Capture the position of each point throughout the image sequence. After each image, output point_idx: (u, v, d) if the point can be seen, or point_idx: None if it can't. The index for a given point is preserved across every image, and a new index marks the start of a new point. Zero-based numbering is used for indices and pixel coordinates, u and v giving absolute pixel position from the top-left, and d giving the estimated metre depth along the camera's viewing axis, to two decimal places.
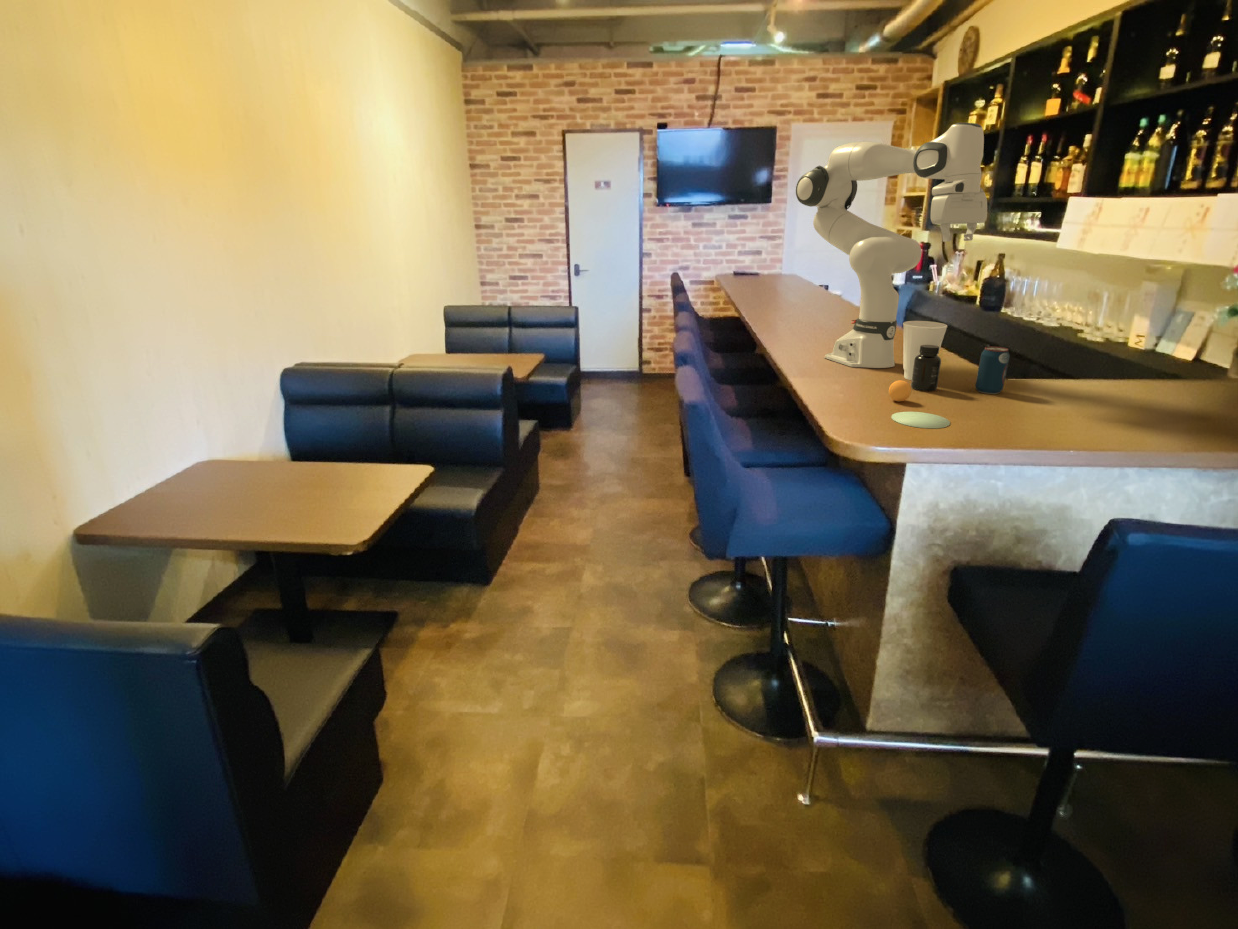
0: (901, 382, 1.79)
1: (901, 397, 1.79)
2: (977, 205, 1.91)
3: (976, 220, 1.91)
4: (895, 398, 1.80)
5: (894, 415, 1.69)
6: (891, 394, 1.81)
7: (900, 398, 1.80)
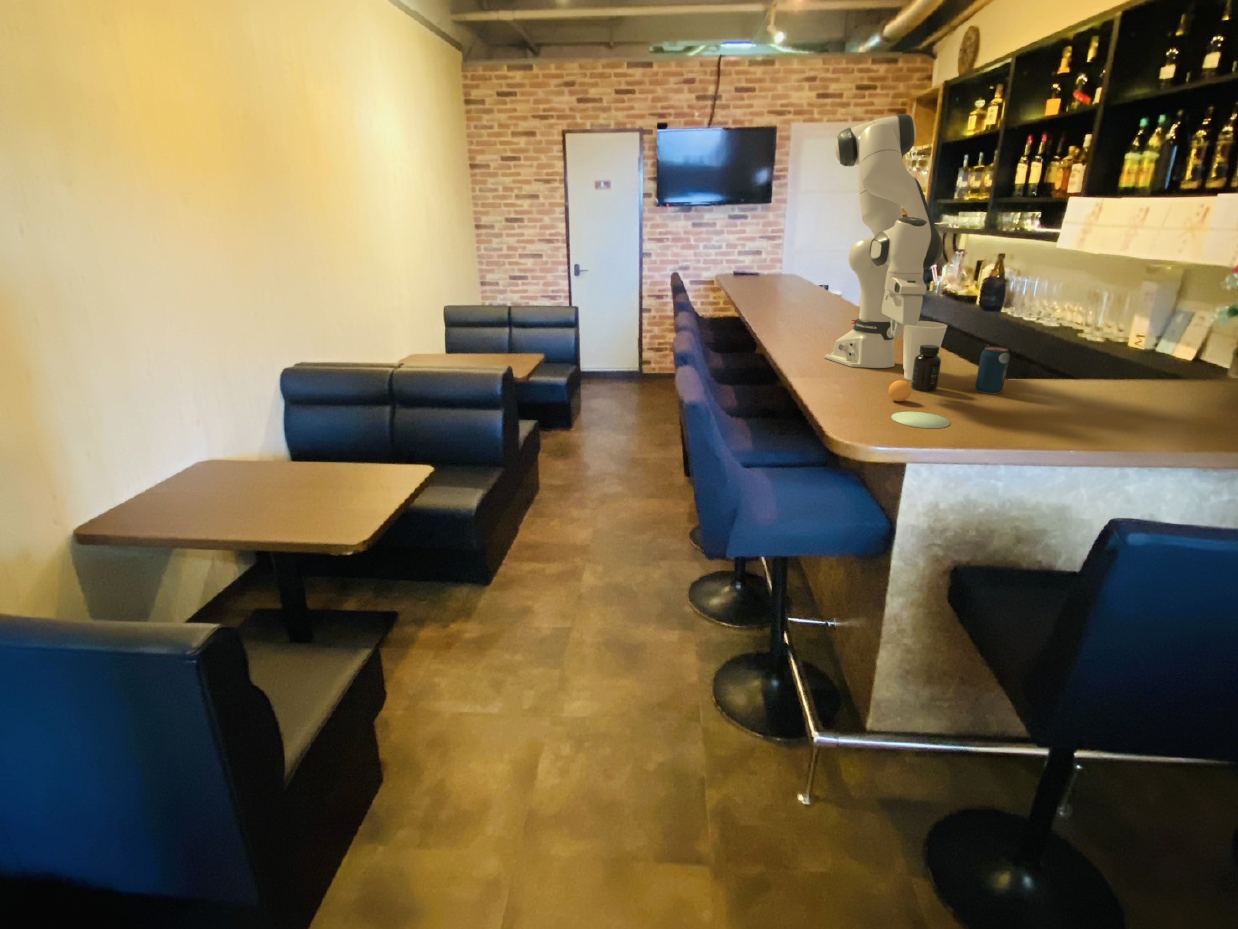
0: (901, 382, 1.79)
1: (901, 397, 1.79)
2: None
3: None
4: (895, 398, 1.80)
5: (894, 415, 1.69)
6: (891, 394, 1.81)
7: (900, 398, 1.80)
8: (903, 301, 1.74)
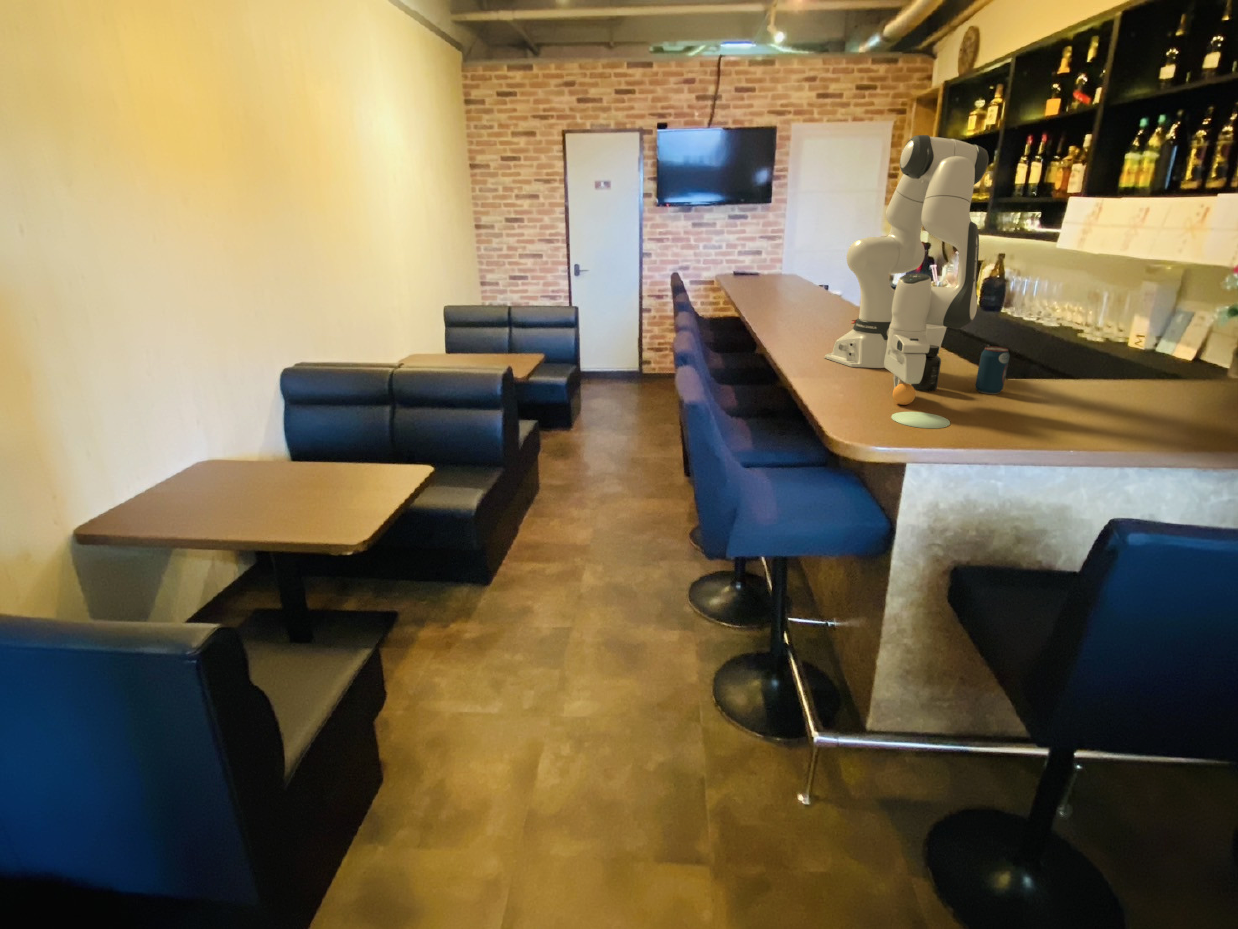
0: (906, 394, 1.76)
1: (901, 404, 1.79)
2: None
3: None
4: None
5: (894, 415, 1.69)
6: (893, 398, 1.79)
7: None
8: (906, 360, 1.70)
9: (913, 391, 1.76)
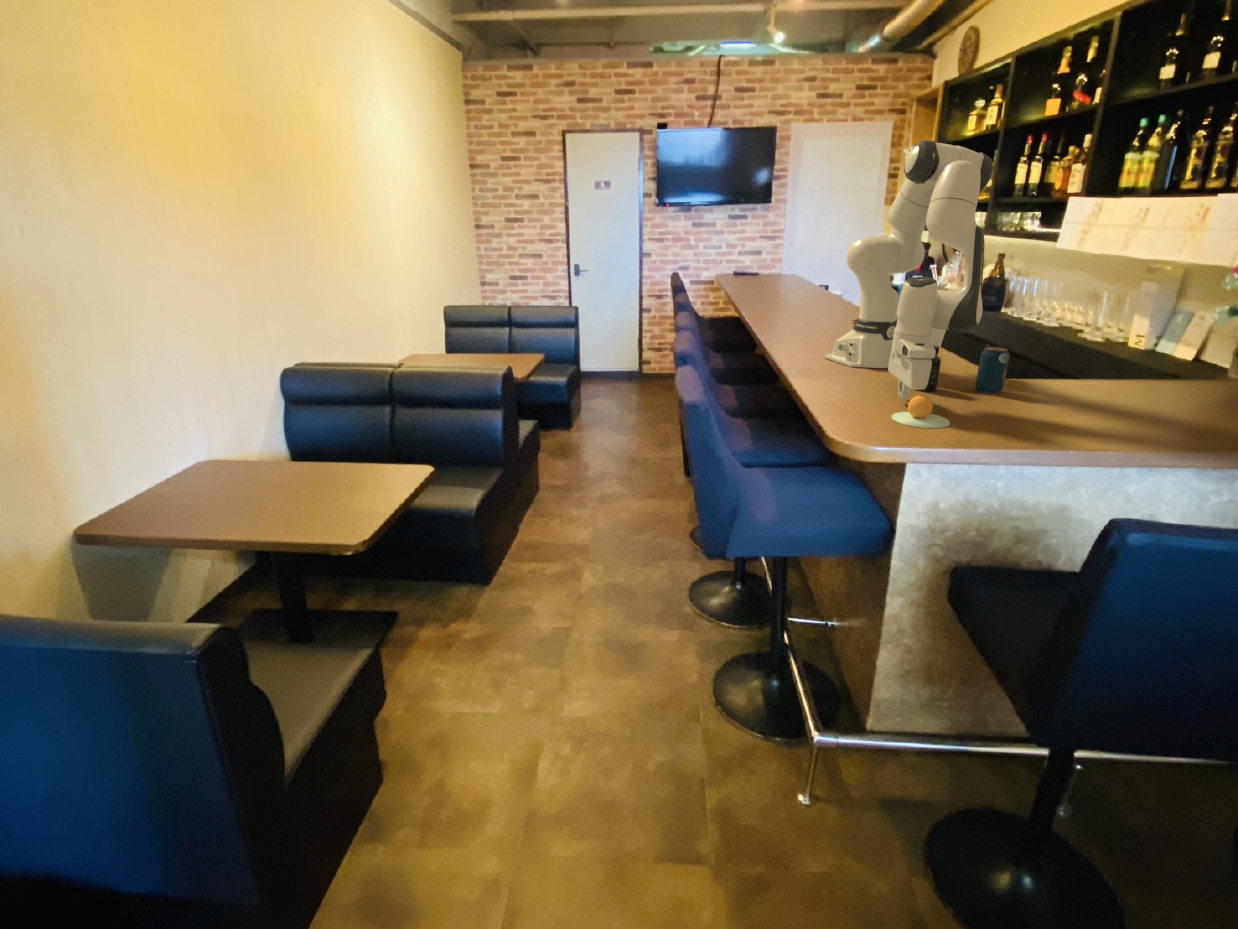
0: None
1: (923, 403, 1.65)
2: None
3: None
4: (918, 407, 1.65)
5: (894, 415, 1.69)
6: (912, 406, 1.66)
7: (923, 405, 1.65)
8: (911, 365, 1.67)
9: None
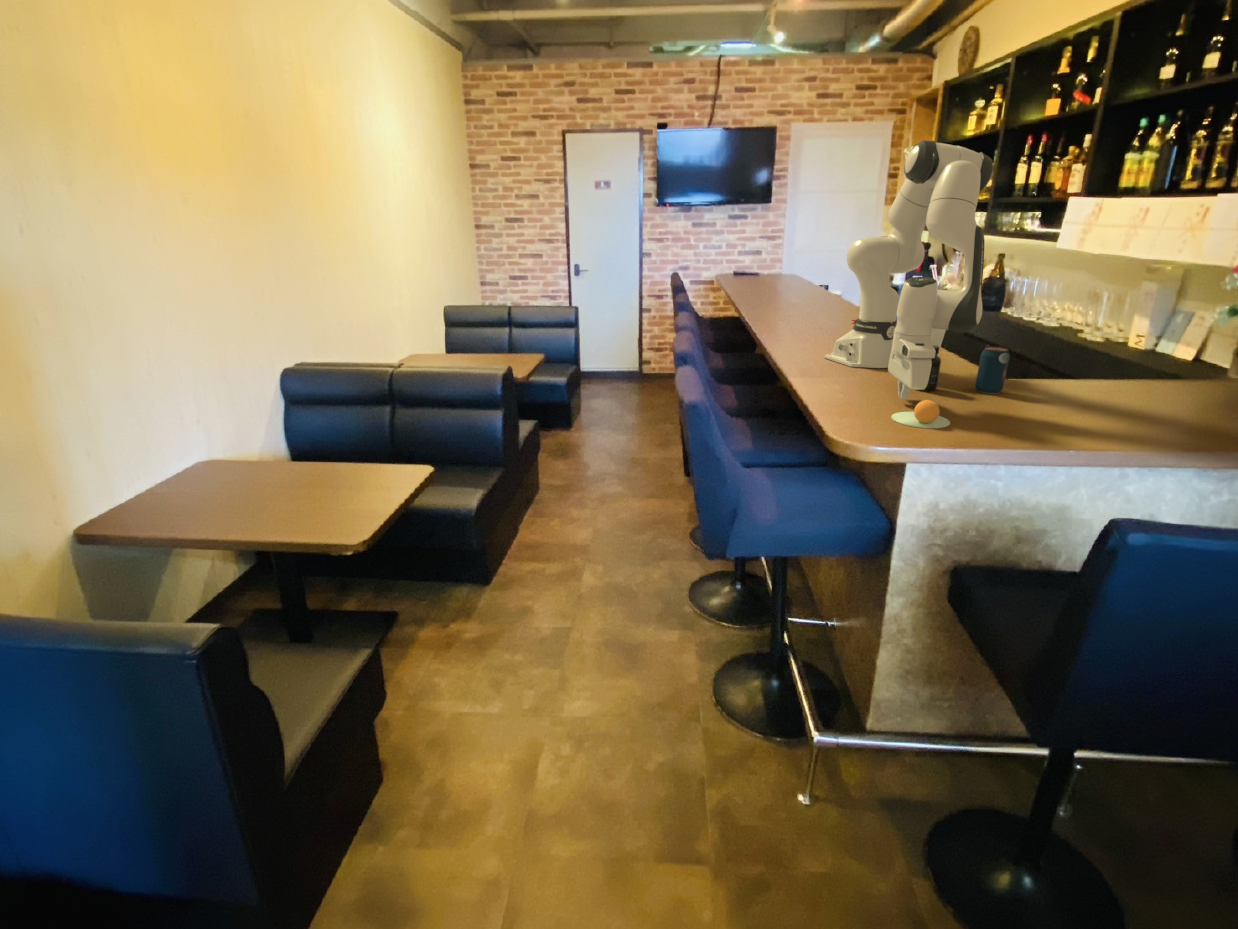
0: (929, 407, 1.61)
1: (926, 422, 1.63)
2: None
3: None
4: (919, 421, 1.64)
5: (894, 415, 1.69)
6: (916, 417, 1.63)
7: None
8: (911, 365, 1.67)
9: (936, 405, 1.61)
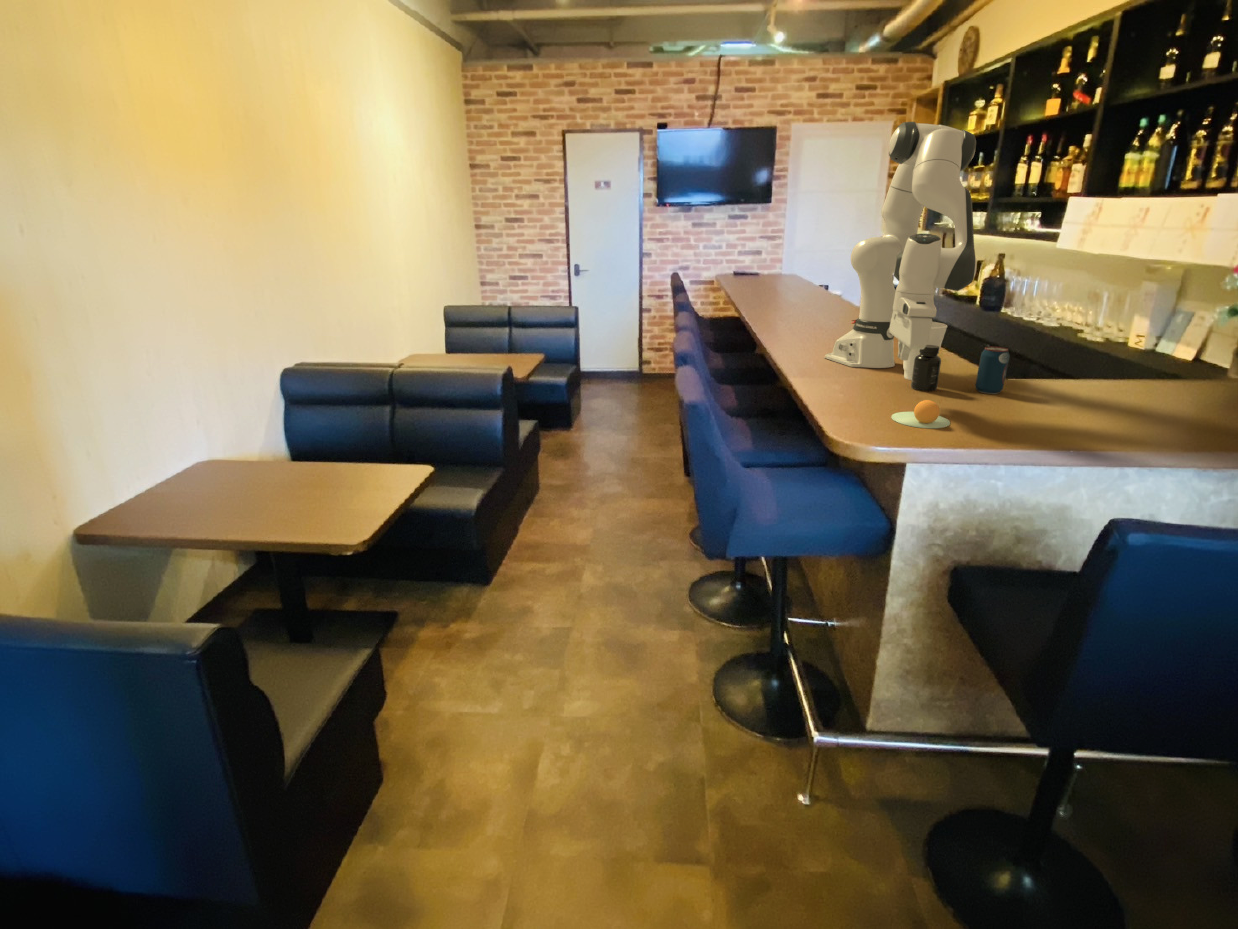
0: (929, 407, 1.61)
1: (926, 422, 1.63)
2: None
3: None
4: (919, 421, 1.64)
5: (894, 415, 1.69)
6: (916, 417, 1.63)
7: None
8: (911, 324, 1.64)
9: (936, 405, 1.61)
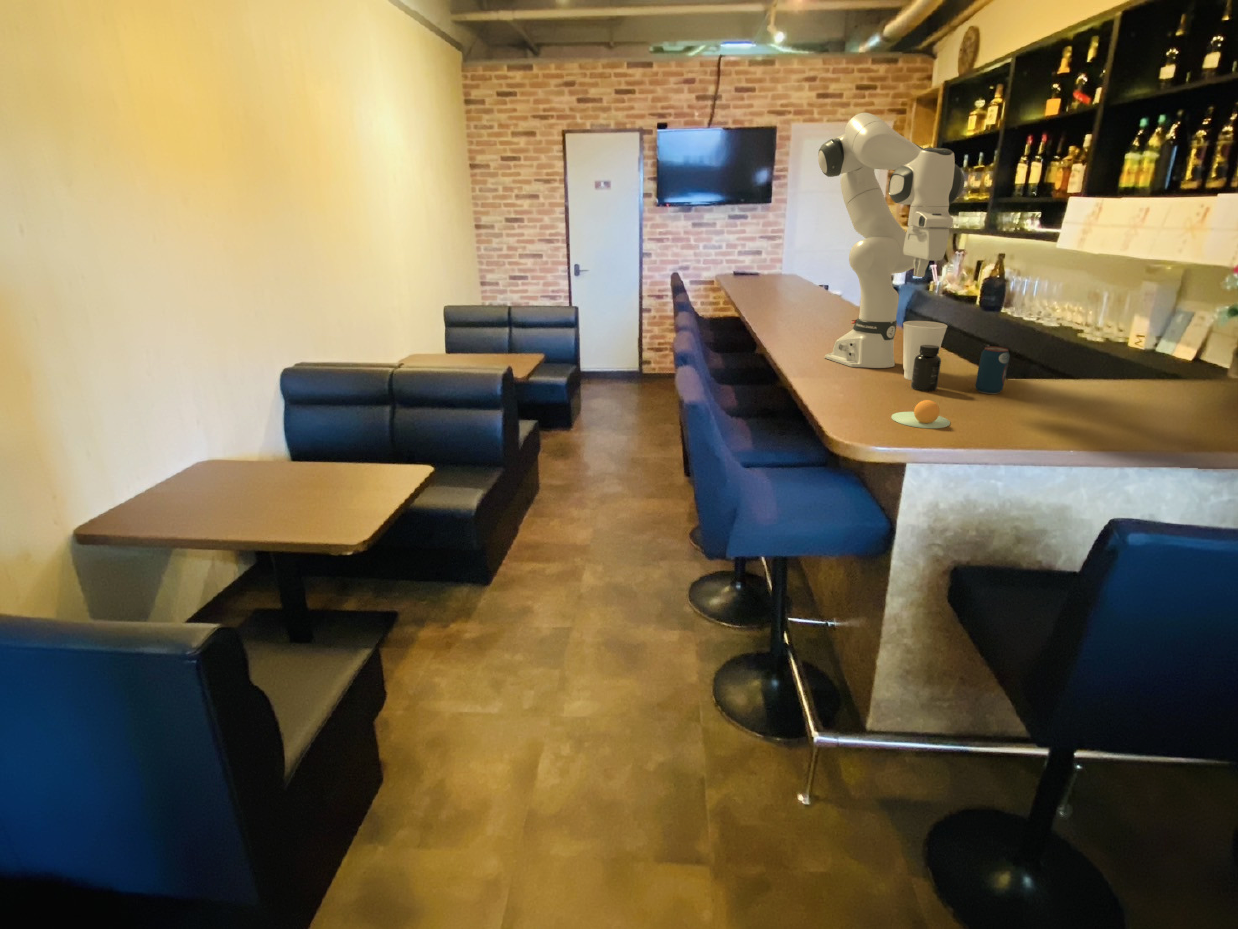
0: (929, 407, 1.61)
1: (926, 422, 1.63)
2: None
3: None
4: (919, 421, 1.64)
5: (894, 415, 1.69)
6: (916, 417, 1.63)
7: None
8: (928, 234, 1.65)
9: (936, 405, 1.61)
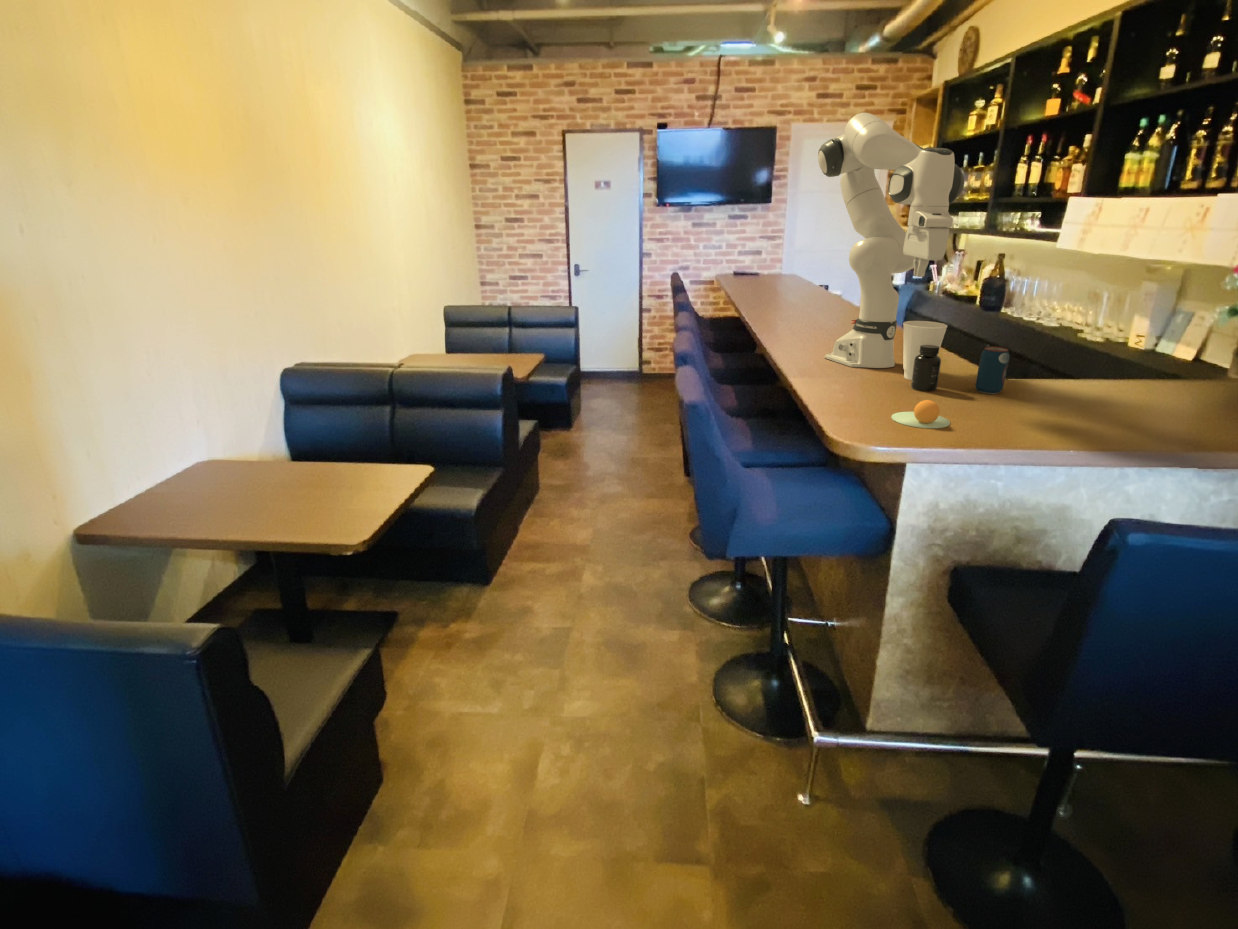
0: (929, 407, 1.61)
1: (926, 422, 1.63)
2: None
3: None
4: (919, 421, 1.64)
5: (894, 415, 1.69)
6: (916, 417, 1.63)
7: None
8: (928, 234, 1.65)
9: (936, 405, 1.61)
